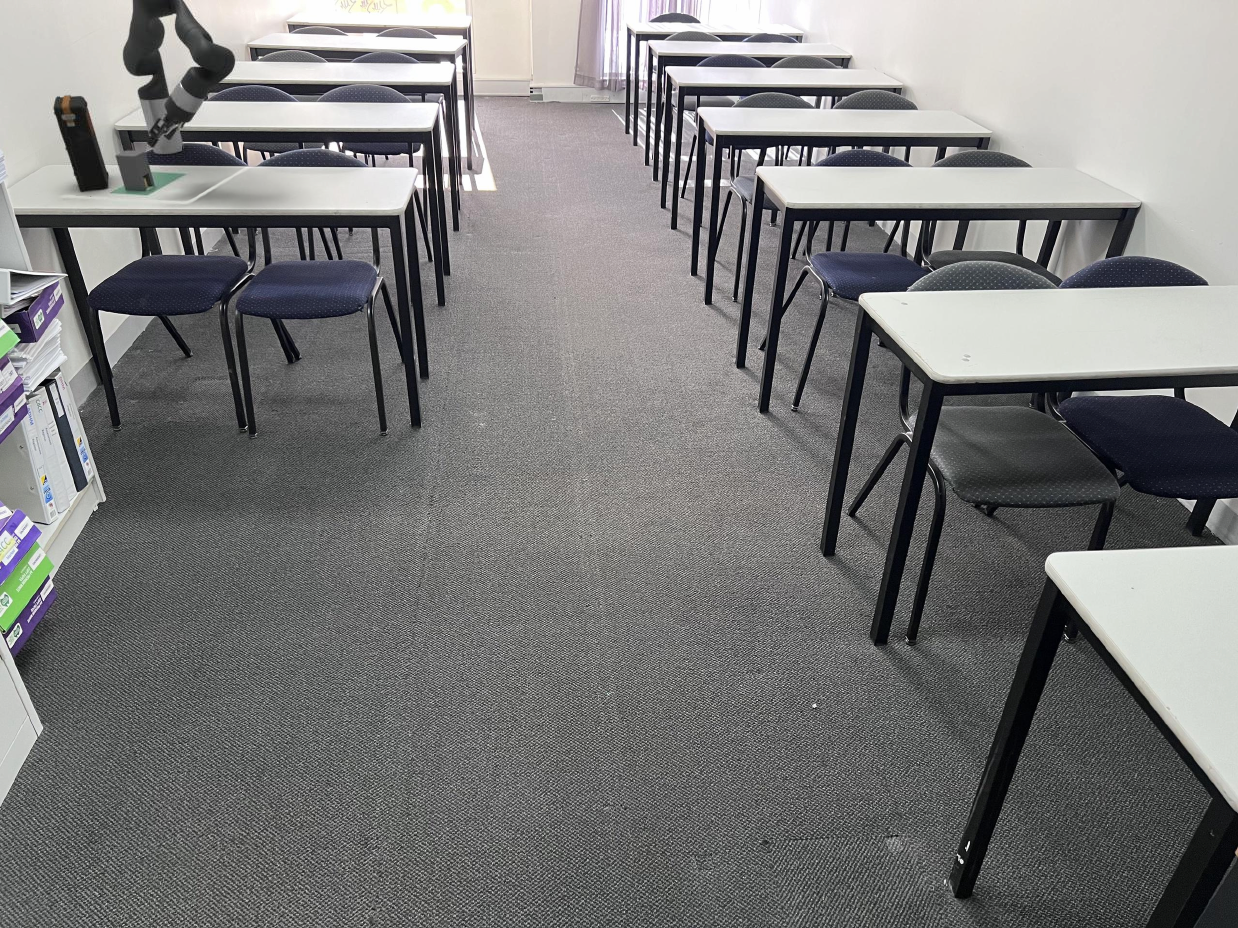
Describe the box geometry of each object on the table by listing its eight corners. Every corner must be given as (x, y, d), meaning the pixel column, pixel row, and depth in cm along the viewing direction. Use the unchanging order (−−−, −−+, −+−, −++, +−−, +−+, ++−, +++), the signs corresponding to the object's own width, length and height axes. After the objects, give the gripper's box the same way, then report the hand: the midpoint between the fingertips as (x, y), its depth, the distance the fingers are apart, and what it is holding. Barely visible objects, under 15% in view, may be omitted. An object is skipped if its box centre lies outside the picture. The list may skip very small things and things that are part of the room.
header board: (151, 175, 282) (148, 162, 280) (187, 177, 281) (184, 164, 279) (110, 196, 264) (106, 182, 262) (148, 198, 263) (144, 185, 260)
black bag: (79, 181, 275) (51, 95, 261) (110, 178, 278) (85, 93, 264) (77, 196, 264) (48, 107, 250) (110, 192, 267) (83, 104, 253)
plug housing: (136, 184, 270) (126, 150, 265) (154, 185, 270) (145, 151, 264) (125, 190, 266) (115, 155, 260) (144, 191, 265) (134, 156, 260)
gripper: (187, 85, 256) (160, 125, 263) (159, 96, 244) (132, 137, 252) (209, 106, 258) (182, 145, 266) (182, 117, 246) (155, 158, 254)
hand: (158, 141), depth 259 cm, fingers open, 8 cm apart
